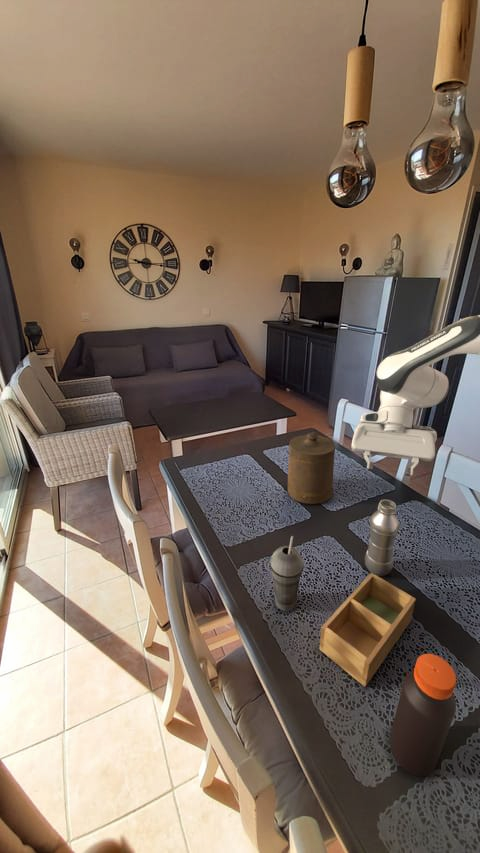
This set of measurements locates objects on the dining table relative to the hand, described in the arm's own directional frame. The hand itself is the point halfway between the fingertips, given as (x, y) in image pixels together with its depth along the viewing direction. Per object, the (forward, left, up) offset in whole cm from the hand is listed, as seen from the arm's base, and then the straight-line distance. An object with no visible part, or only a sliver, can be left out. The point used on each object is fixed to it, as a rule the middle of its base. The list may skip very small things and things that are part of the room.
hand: (388, 472), depth 93 cm
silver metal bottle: (-5, +11, -22) cm, 25 cm away
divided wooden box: (-12, +29, -22) cm, 38 cm away
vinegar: (-27, +42, -22) cm, 54 cm away
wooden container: (+28, -5, -22) cm, 36 cm away
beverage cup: (+5, +35, -22) cm, 41 cm away
